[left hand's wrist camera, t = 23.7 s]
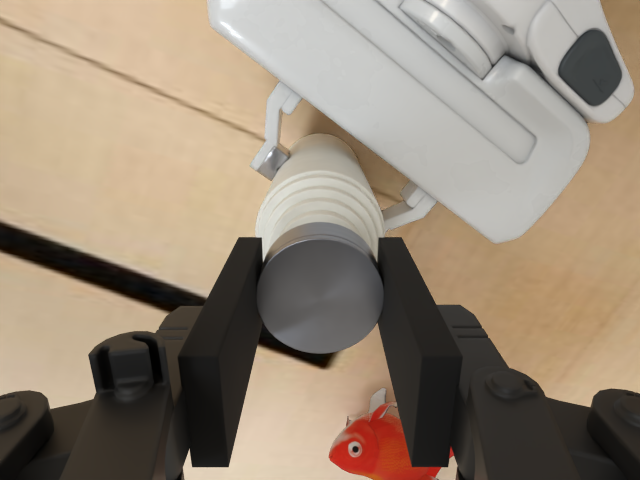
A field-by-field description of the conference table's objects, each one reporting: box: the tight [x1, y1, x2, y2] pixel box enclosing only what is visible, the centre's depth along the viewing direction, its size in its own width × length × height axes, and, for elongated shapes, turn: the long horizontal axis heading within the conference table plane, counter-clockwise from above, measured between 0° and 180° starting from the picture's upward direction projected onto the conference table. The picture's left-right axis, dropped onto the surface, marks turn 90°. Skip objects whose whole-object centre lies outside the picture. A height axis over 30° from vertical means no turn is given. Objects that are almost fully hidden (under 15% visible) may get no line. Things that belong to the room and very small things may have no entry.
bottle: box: [255, 133, 385, 262], centre depth 22 cm, size 6×6×18 cm
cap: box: [256, 222, 384, 353], centre depth 14 cm, size 4×4×2 cm
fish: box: [329, 388, 454, 480], centre depth 34 cm, size 11×16×10 cm
